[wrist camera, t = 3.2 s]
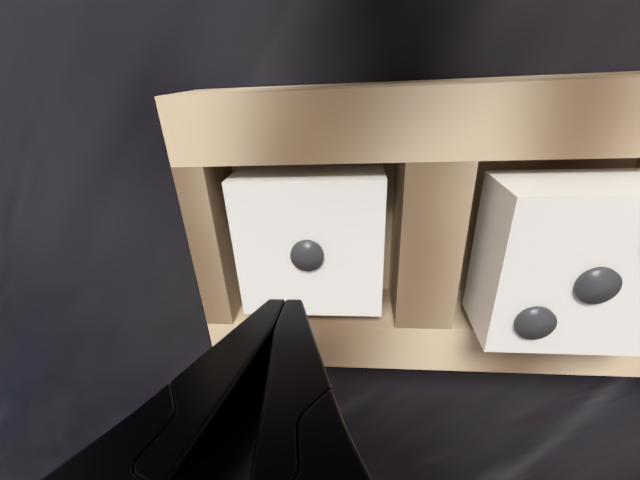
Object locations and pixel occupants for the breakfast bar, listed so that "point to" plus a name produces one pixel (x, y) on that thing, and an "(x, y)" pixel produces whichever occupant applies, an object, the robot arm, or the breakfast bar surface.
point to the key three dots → (557, 262)
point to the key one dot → (309, 235)
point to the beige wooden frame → (400, 192)
